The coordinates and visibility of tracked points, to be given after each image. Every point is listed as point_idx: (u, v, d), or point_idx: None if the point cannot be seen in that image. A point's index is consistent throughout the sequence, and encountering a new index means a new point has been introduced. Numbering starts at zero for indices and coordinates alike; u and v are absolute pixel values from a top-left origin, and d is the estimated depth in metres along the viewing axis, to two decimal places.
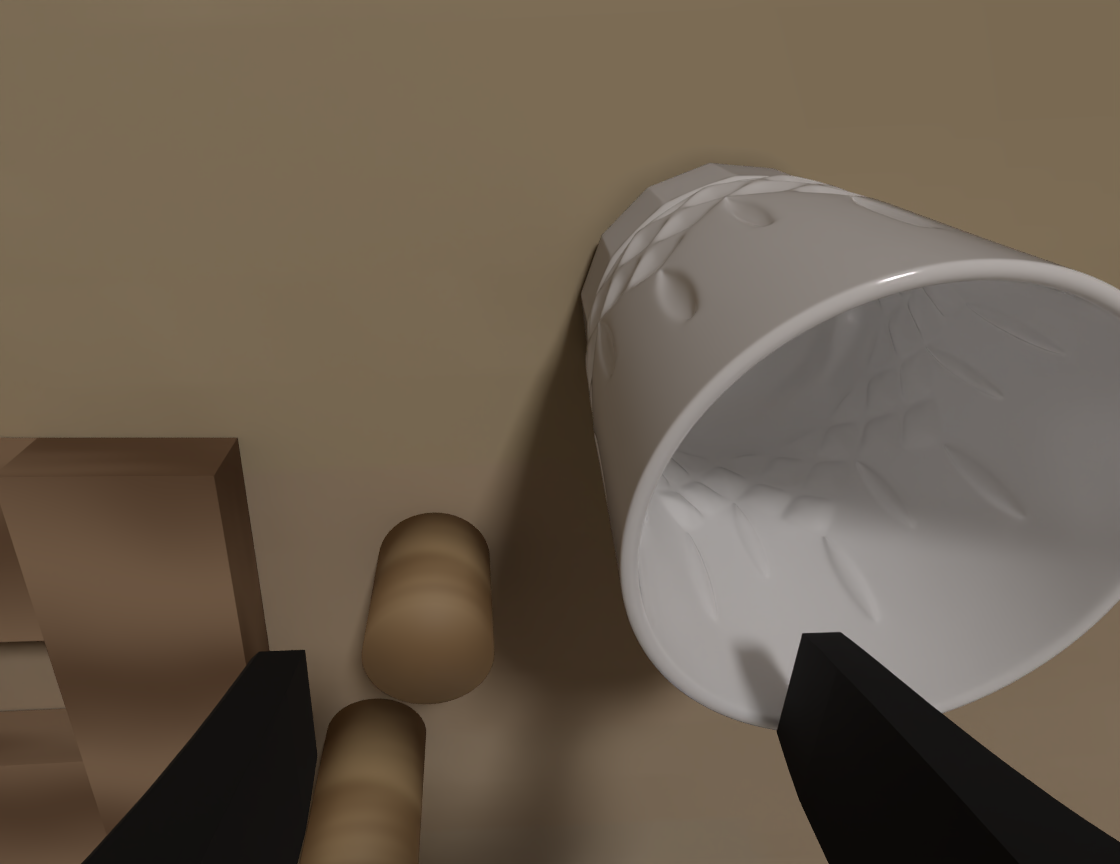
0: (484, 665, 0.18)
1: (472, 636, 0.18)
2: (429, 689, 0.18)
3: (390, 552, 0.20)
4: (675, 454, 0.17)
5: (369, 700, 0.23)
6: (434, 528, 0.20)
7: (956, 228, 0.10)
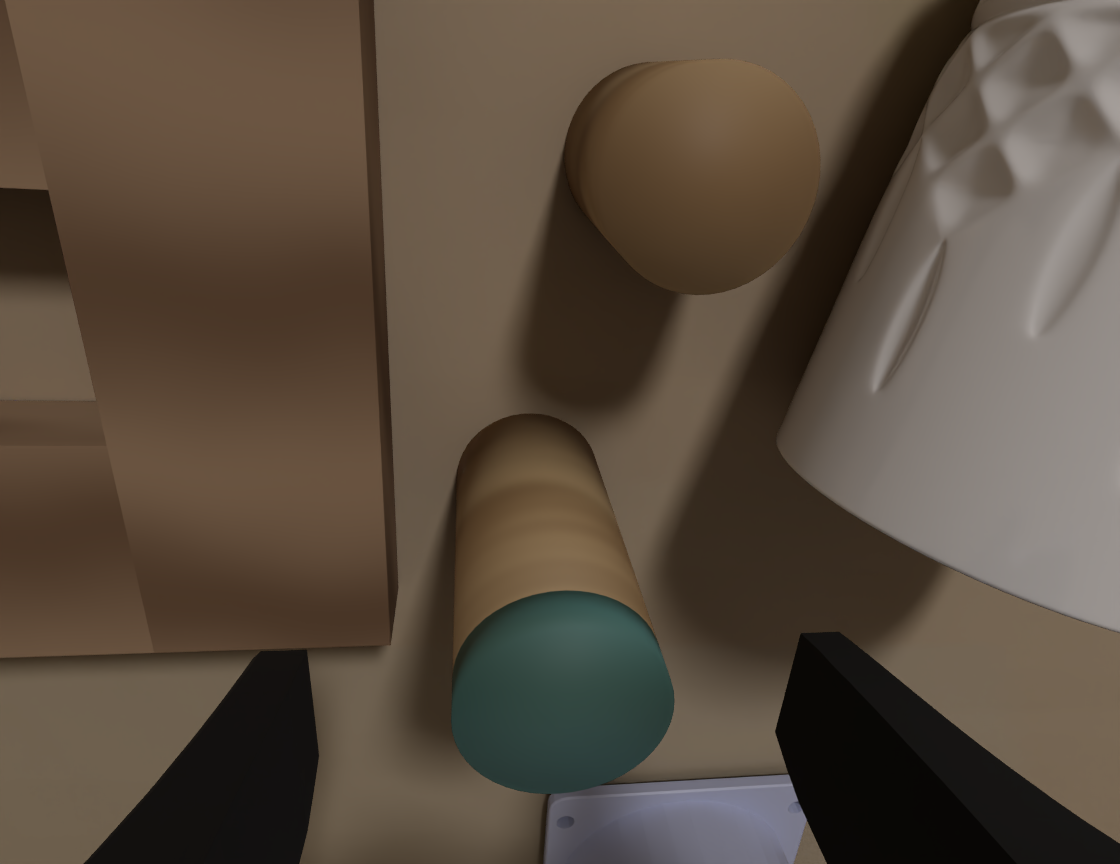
0: (797, 216, 0.11)
1: (790, 146, 0.10)
2: (700, 262, 0.11)
3: (607, 86, 0.12)
4: None
5: (523, 414, 0.16)
6: None
7: None
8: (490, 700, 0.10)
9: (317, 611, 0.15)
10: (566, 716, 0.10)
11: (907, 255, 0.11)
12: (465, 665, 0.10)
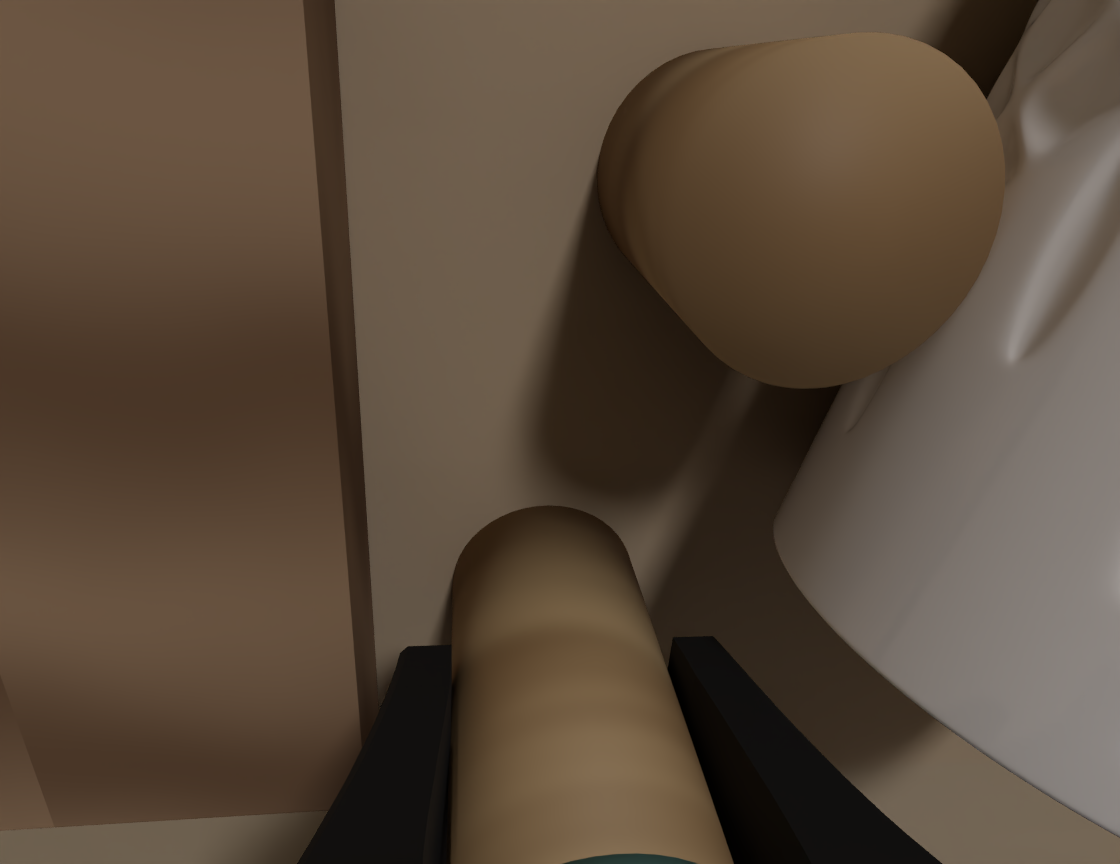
0: (961, 273, 0.07)
1: (961, 169, 0.07)
2: (813, 343, 0.07)
3: (663, 81, 0.09)
4: None
5: (539, 507, 0.12)
6: None
7: None
8: None
9: (269, 772, 0.12)
10: None
11: None
12: None
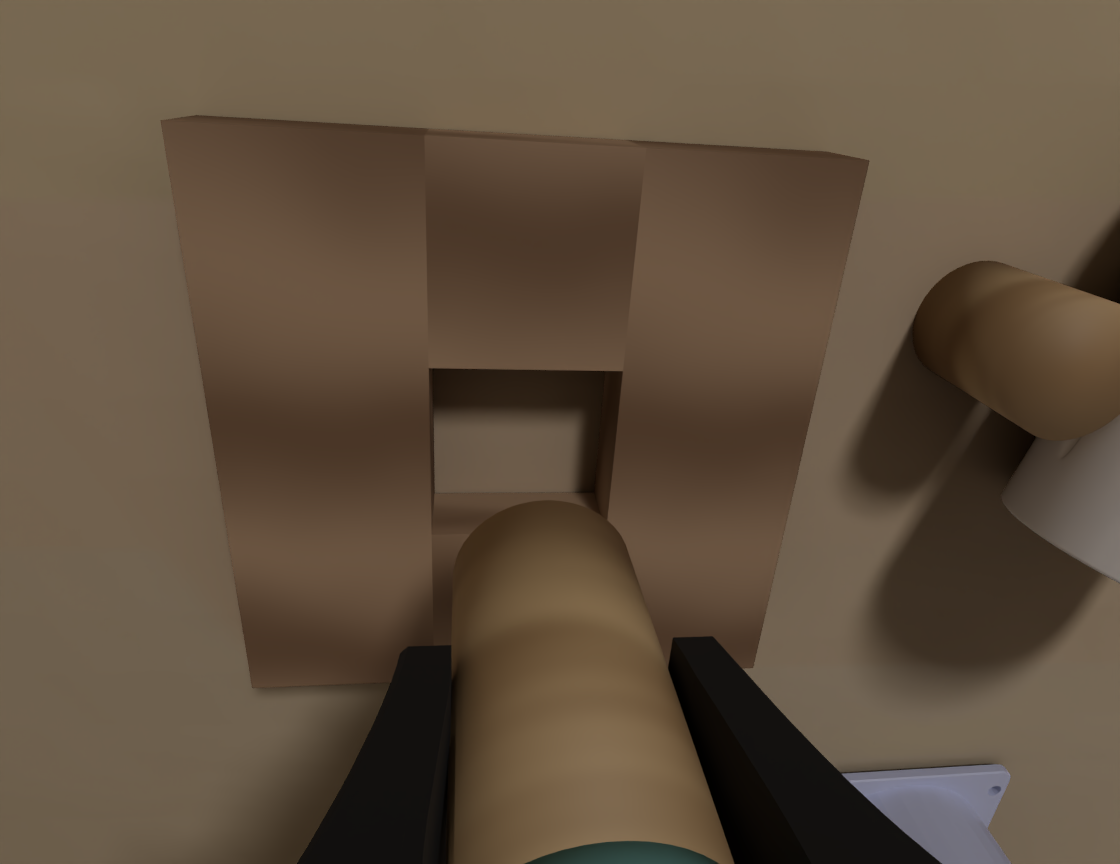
0: None
1: None
2: (1065, 421, 0.16)
3: (974, 289, 0.18)
4: None
5: (535, 502, 0.12)
6: (1011, 268, 0.18)
7: None
8: None
9: None
10: None
11: None
12: None
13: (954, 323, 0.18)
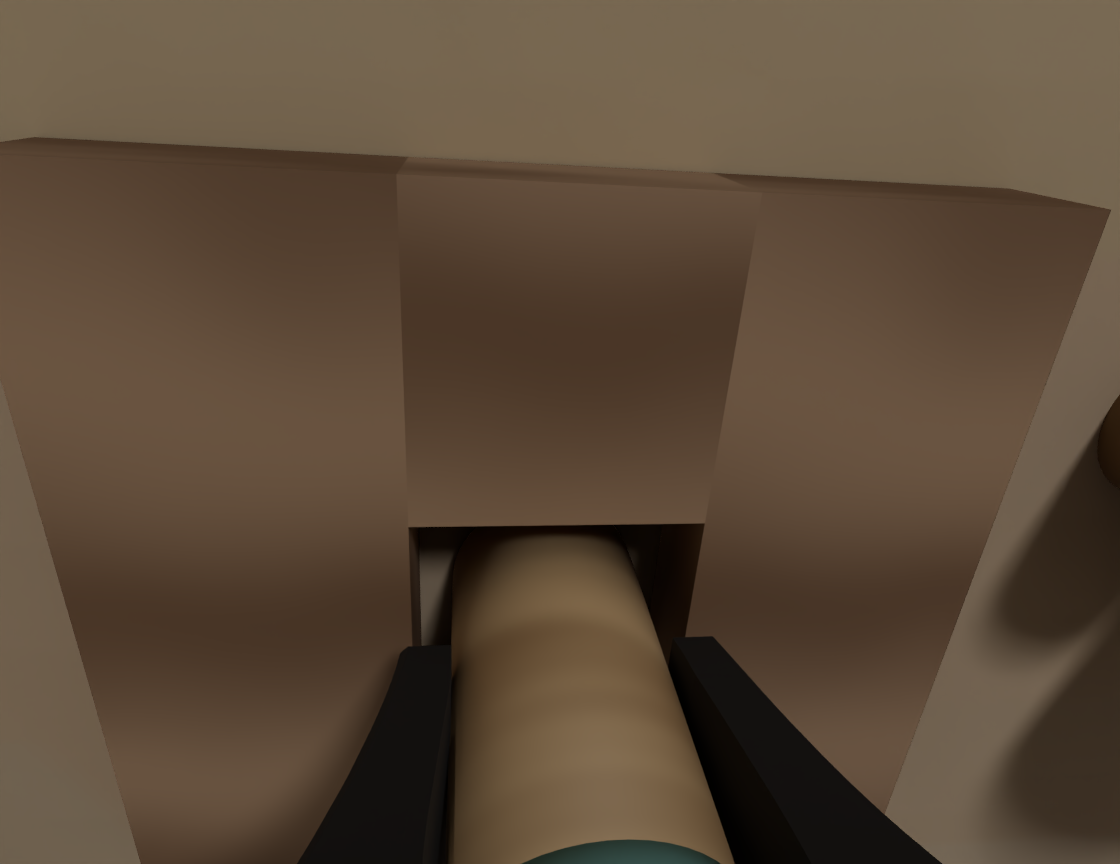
0: None
1: None
2: None
3: None
4: None
5: None
6: None
7: None
8: None
9: None
10: None
11: None
12: None
13: None
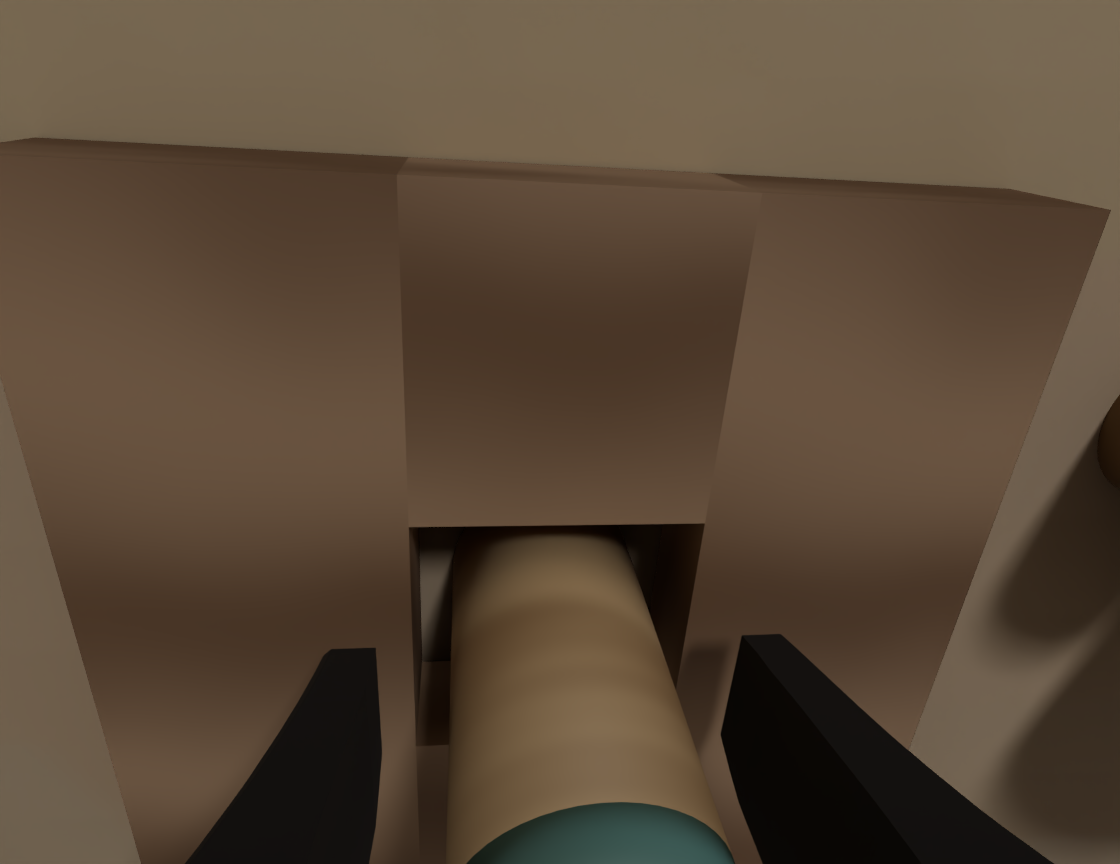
0: None
1: None
2: None
3: None
4: None
5: None
6: None
7: None
8: None
9: None
10: None
11: None
12: None
13: None
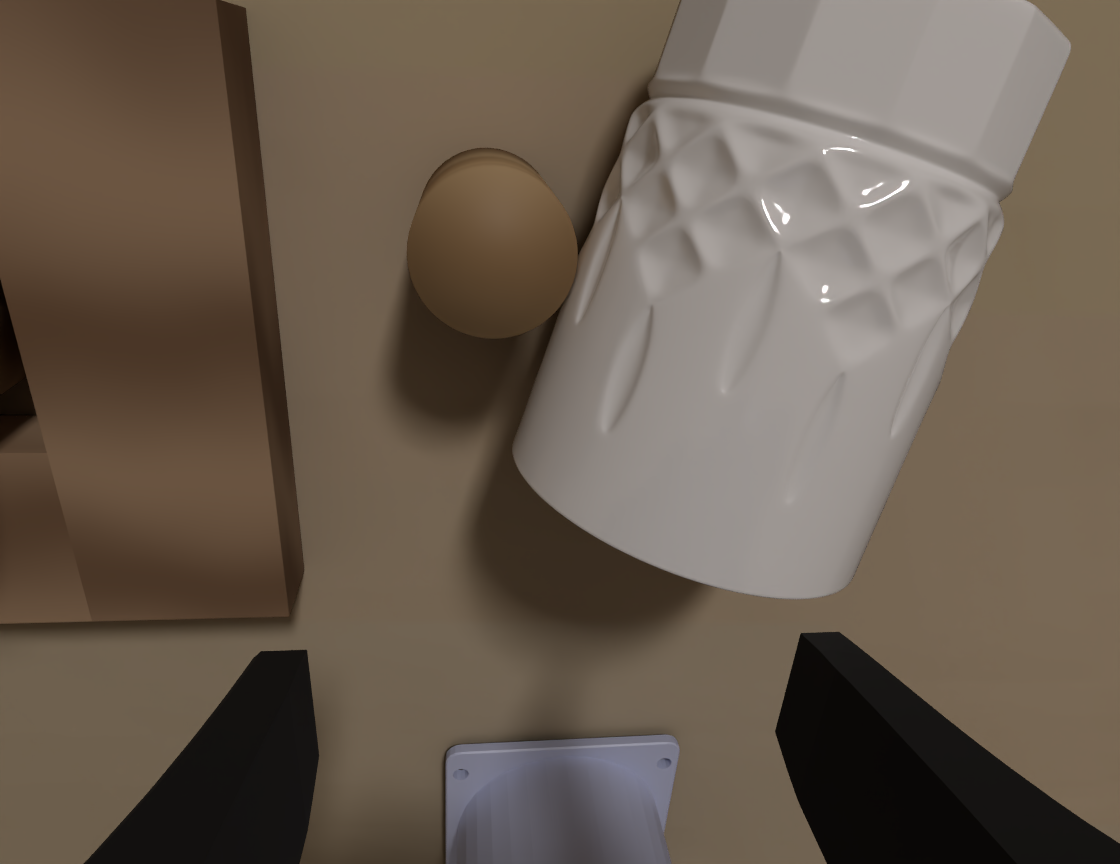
0: (564, 279, 0.14)
1: (551, 229, 0.14)
2: (492, 314, 0.14)
3: (438, 172, 0.16)
4: None
5: None
6: (491, 151, 0.16)
7: (829, 487, 0.12)
8: None
9: (226, 588, 0.18)
10: None
11: None
12: None
13: None
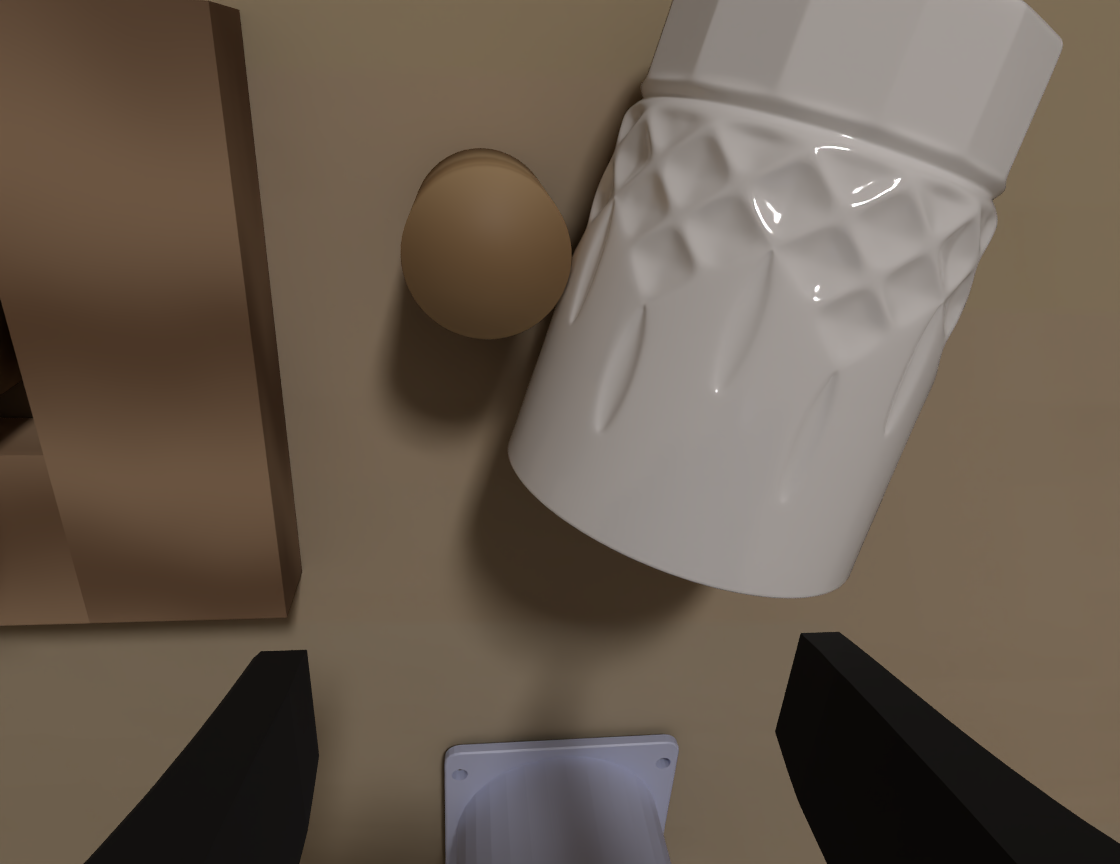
0: (558, 280, 0.14)
1: (544, 229, 0.14)
2: (486, 315, 0.14)
3: (432, 173, 0.16)
4: None
5: None
6: (486, 152, 0.16)
7: (823, 486, 0.12)
8: None
9: (223, 589, 0.19)
10: None
11: None
12: None
13: None
